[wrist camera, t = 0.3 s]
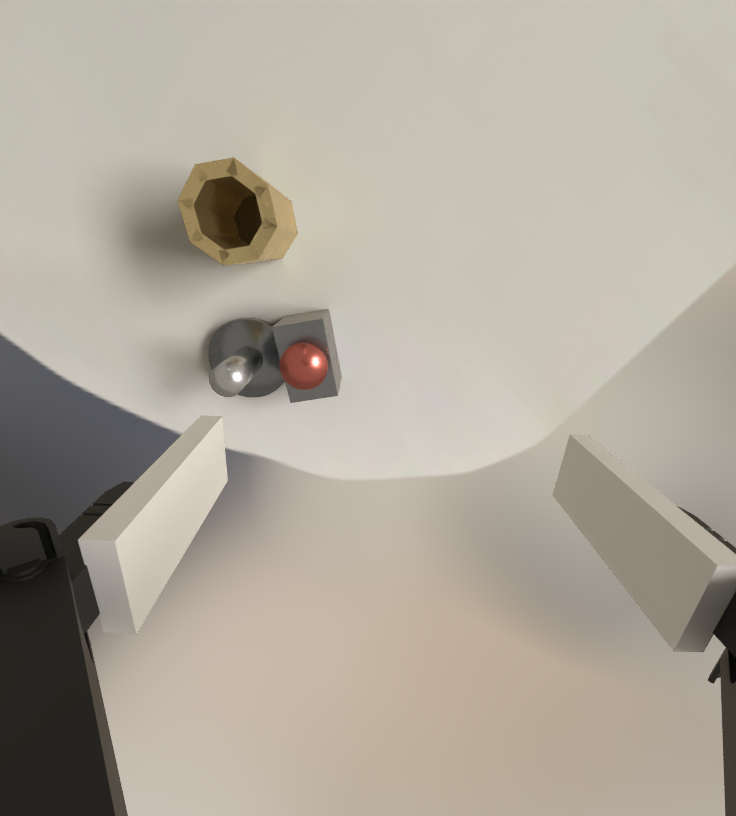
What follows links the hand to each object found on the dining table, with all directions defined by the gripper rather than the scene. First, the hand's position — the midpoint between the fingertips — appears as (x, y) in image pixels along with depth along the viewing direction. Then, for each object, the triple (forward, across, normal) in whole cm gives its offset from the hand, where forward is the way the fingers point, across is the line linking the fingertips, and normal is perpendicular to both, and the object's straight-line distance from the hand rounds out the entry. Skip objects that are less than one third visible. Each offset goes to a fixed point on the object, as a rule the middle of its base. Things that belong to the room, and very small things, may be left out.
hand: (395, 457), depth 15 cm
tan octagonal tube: (+26, -11, +9) cm, 30 cm away
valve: (+26, -10, -3) cm, 28 cm away
